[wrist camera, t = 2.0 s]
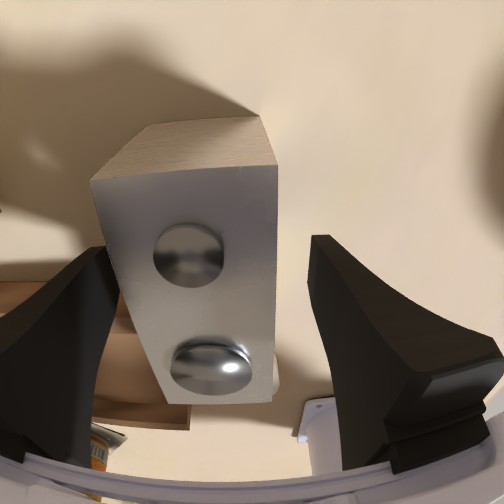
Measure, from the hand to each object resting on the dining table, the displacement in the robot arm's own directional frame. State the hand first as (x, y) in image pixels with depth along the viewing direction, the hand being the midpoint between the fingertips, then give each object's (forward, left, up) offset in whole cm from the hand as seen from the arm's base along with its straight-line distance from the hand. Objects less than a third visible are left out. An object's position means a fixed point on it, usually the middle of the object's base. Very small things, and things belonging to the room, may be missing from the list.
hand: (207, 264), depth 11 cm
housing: (0, 0, -3) cm, 3 cm away
